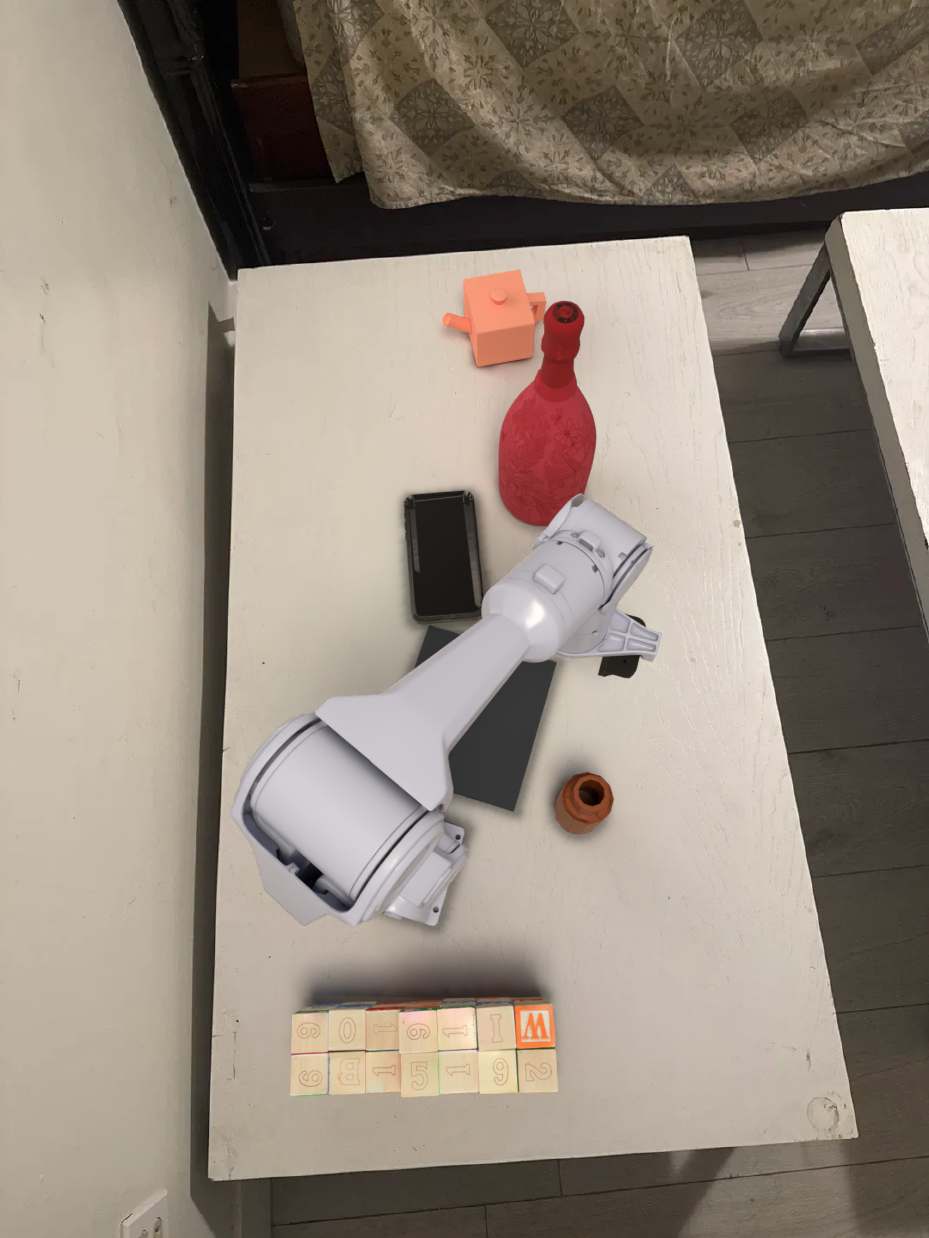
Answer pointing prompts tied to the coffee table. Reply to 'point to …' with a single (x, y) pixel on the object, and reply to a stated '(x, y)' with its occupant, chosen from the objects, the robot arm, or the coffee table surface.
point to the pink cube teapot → (499, 317)
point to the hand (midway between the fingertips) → (563, 655)
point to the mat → (497, 731)
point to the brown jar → (583, 803)
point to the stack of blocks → (425, 1047)
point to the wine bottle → (548, 428)
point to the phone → (443, 557)
